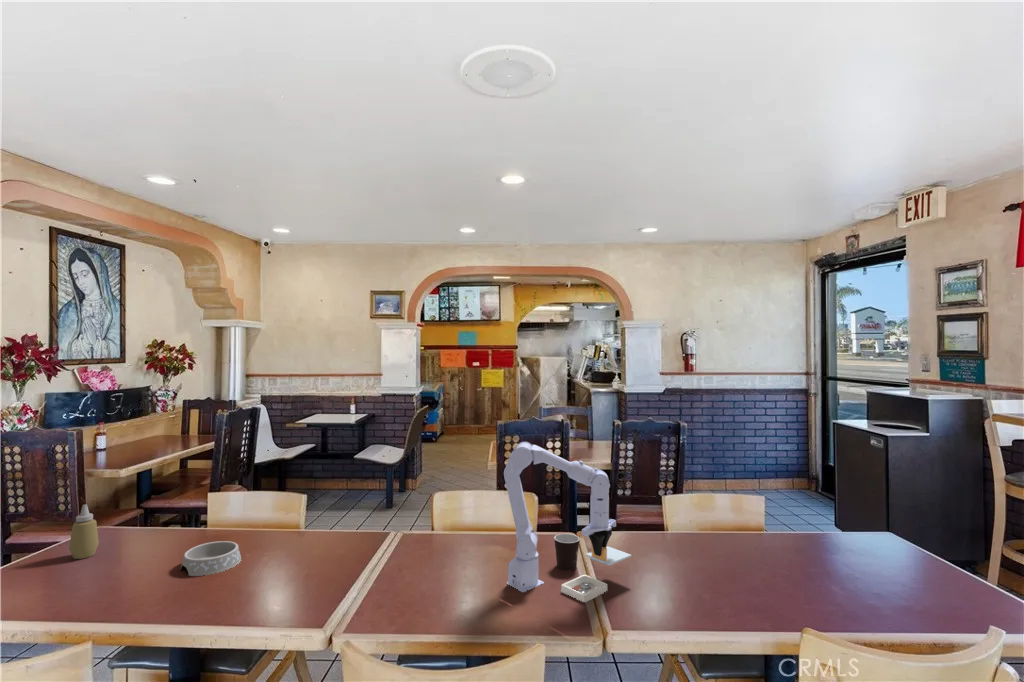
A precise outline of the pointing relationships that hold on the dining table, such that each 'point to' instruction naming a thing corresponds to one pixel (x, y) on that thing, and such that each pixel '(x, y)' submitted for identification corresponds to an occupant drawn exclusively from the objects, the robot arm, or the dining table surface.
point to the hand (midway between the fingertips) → (599, 554)
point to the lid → (609, 555)
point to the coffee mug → (566, 551)
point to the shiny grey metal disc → (583, 591)
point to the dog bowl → (211, 558)
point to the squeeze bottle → (84, 535)
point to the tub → (591, 593)
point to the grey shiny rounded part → (586, 585)
